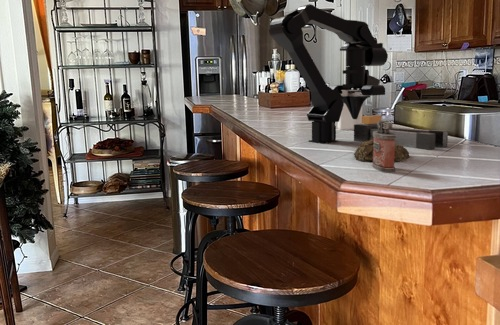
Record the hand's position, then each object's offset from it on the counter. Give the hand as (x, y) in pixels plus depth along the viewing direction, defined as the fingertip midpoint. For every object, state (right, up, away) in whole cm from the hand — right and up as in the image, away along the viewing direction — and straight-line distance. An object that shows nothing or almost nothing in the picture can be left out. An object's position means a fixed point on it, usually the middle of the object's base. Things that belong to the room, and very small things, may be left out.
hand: (354, 119), depth 146 cm
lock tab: (+4, -2, -5) cm, 7 cm away
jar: (+4, -1, +28) cm, 28 cm away
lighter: (-4, -15, -45) cm, 48 cm away
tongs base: (+9, -8, -13) cm, 18 cm away
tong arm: (+13, -8, -14) cm, 21 cm away
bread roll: (-1, -13, -33) cm, 35 cm away
